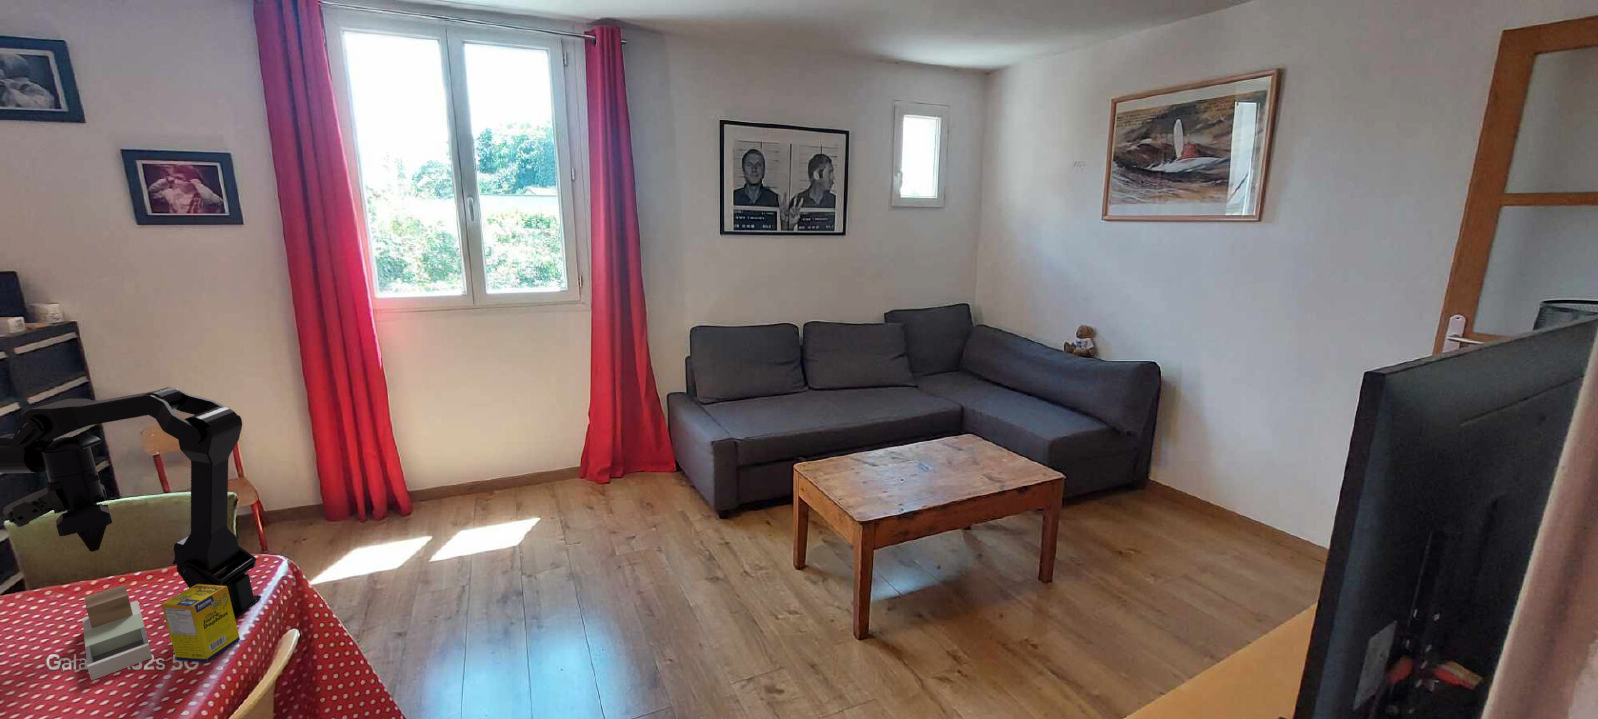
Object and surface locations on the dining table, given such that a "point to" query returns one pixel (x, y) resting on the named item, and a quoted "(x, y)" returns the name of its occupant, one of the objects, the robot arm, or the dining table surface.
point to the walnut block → (108, 606)
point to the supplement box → (201, 622)
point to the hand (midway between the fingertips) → (94, 550)
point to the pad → (114, 634)
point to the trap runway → (117, 652)
